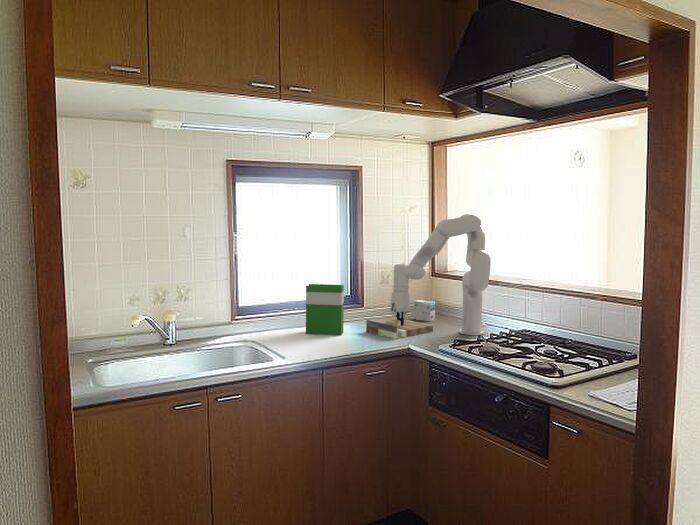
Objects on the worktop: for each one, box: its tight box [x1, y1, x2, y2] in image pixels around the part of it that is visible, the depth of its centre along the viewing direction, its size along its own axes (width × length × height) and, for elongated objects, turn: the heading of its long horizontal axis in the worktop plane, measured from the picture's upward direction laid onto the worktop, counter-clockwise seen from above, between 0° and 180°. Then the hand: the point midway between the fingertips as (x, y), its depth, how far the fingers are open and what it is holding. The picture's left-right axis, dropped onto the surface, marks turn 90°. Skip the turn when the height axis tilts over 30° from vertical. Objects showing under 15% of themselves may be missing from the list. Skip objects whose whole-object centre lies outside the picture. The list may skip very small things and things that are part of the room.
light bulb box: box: [413, 299, 436, 322], centre depth 296 cm, size 11×7×11 cm, turn 58°
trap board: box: [365, 318, 434, 340], centre depth 264 cm, size 28×20×6 cm
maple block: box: [385, 318, 401, 329], centre depth 257 cm, size 5×5×4 cm
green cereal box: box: [305, 283, 345, 336], centre depth 258 cm, size 18×7×24 cm, turn 83°
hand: (400, 325), depth 260 cm, fingers closed
